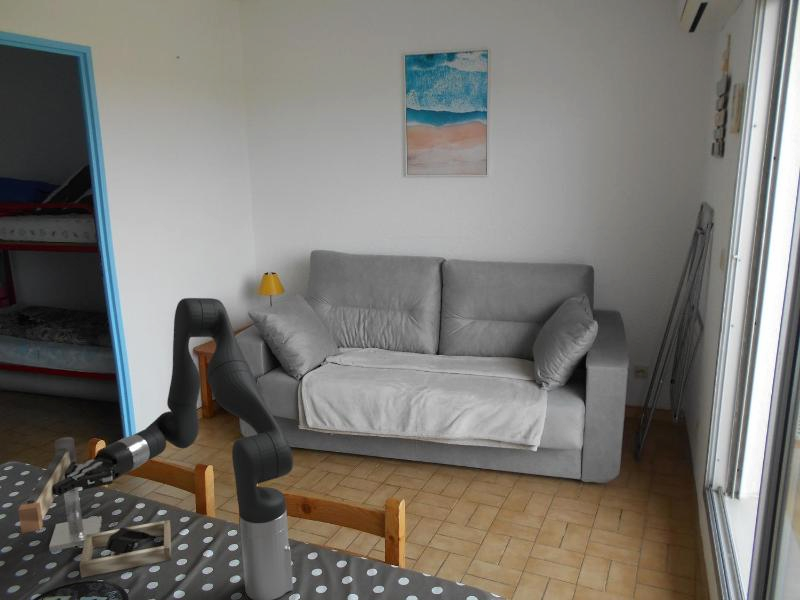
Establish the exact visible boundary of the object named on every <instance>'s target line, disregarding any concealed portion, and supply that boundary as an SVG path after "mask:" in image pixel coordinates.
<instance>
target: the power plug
mask: <svg viewBox="0 0 800 600" xmlns="http://www.w3.org/2000/svg"><path fill="white" fill-rule="evenodd" d="M119 529H120V530H118V531H117V532H116V533H114V534H113V535H111V536H110V537H109V540H108V542H107V545H106V546H105V548H104V549H105V550H107V551H109V552H111V553H110V555H109V556H113V555H116V553H117V554H124V553H129V552H134V548H135V546H136V544H137V540H136V539H141V540H148V539H153V540H154V539H155V540H156V539H157V537H156V536H153V535H149V534H148V533H145V532H141V531H138V530H133V529H128V528H127V527H120V528H119Z"/></svg>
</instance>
